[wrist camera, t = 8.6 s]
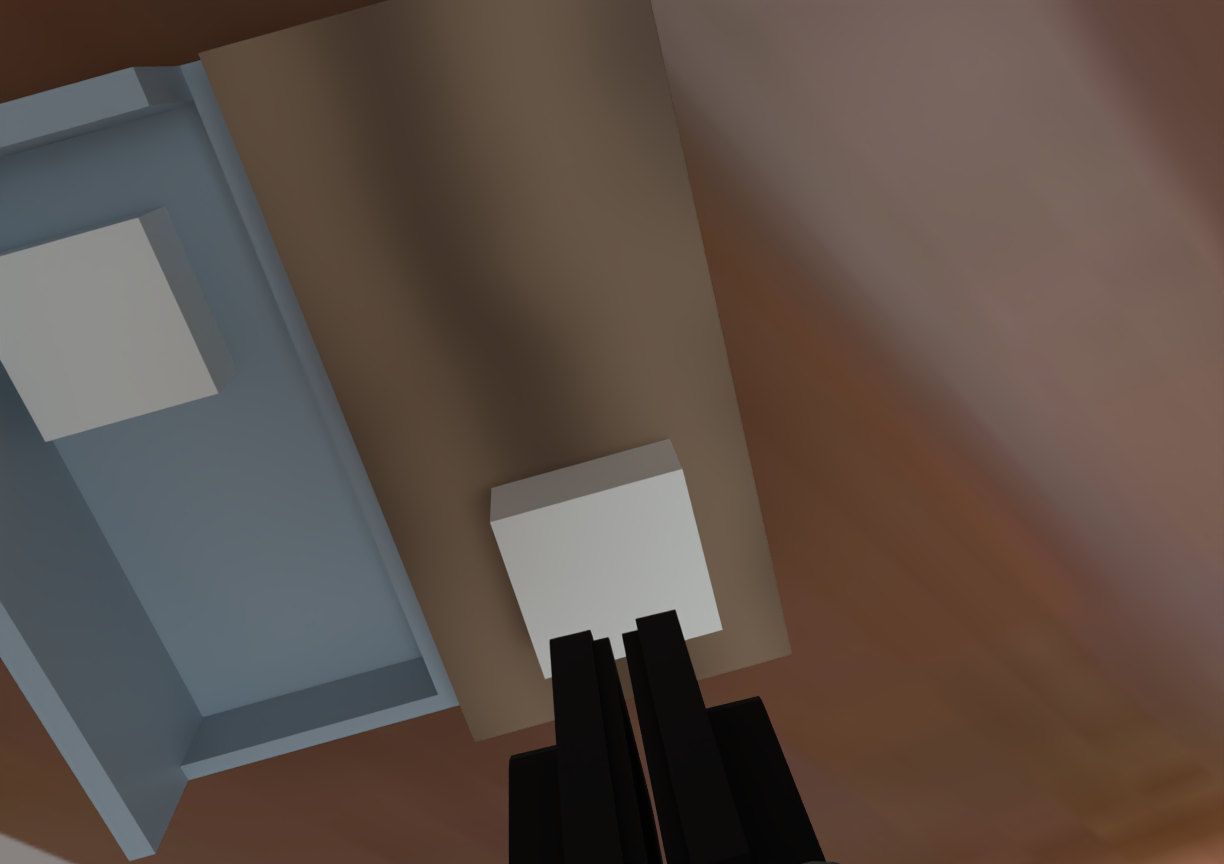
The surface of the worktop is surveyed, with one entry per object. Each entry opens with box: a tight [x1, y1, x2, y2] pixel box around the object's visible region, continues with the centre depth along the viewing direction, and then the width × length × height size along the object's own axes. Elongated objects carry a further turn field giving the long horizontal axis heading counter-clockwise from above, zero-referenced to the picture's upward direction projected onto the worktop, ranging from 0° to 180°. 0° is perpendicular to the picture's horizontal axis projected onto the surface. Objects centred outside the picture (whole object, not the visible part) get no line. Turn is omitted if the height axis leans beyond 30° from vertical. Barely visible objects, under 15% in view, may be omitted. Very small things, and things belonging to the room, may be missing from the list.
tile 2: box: [490, 439, 723, 679], centre depth 25 cm, size 5×5×2 cm
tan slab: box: [198, 0, 792, 742], centre depth 27 cm, size 10×20×5 cm, turn 14°
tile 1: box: [0, 206, 238, 442], centre depth 26 cm, size 5×5×2 cm
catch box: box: [0, 60, 460, 861], centre depth 26 cm, size 10×20×6 cm, turn 15°
